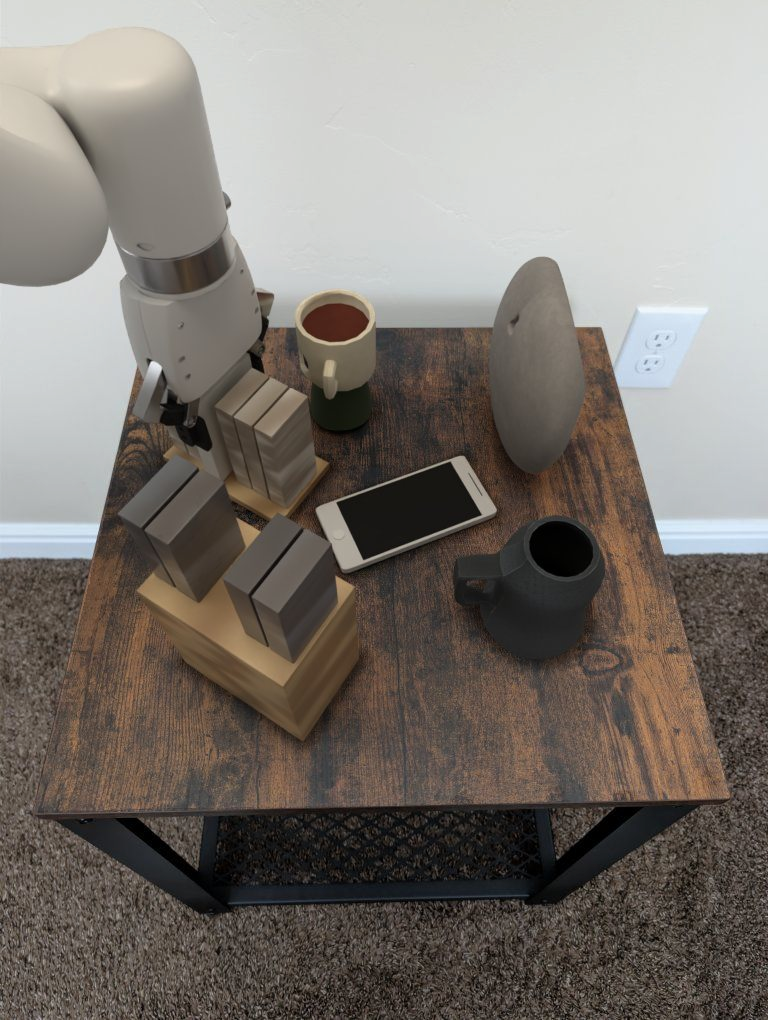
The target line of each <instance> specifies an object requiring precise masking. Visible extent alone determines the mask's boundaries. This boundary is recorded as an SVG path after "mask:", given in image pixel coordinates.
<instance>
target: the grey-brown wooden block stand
mask: <svg viewBox="0 0 768 1020" xmlns="http://www.w3.org/2000/svg"><path fill="white" fill-rule="evenodd" d="M161 403H162V400H161ZM177 403H180V404H181V402H180V399H179V396H178V398H177ZM214 407H215V411H216V414H217V417H218V420H219V424H220V427H221V430H222V434H223V437H224V440H225V443H226V447H227V450H228V453H229V457H230V460H231V463H232V466H233V471H232V472H231V473H230V474H229V475H228V476H227V477H226V479H225V480H224V481H223V482H225V485H226V488H227V491H228V494H229V497H230V500H231V501H232V502H234V503H236V504H238V505H239V506H241V507H242V508H245V509H246V510H248V511H250V512H251V513H253V514H255V515H257V516H258V517H260V518H262V519H263V520H265V521H267V522H268V523H269V522H270V520H271V519H272V518H273V517H274V516H275V514H276V513H277V512H278V513H280V514H282V515H283V516H285V517H287V518H288V519H290V517H292V515H293V514H294V513H295V511H296V510H297V509H298V508H299V506H300V505H301V504H303V502H304V500H305V499H306V498H307V497H308V495H309V494H311V492H312V491H313V490H314V488H316V486H317V484H318V483H319V482H320V481H321V480H322V478H323V477H324V476H325V475H326V474H327V472H328V471H329V470H330V462H328V461H326V460H324V459H322V458H321V457H319V456H317V455H316V452H315V441H314V435H313V427H312V419H311V412H310V402H309V396H308V395H306V394H304V393H302V392H300V391H298V390H296V389H294V388H292V387H290V388H289V385H287V384H285V383H283V382H281V381H279V380H277V379H275V378H273V377H270V376H269V375H267V374H266V373H265V374H263V373H261V372H259V371H257V370H255V369H253V368H251V369H250V370H249V371H248V372H247V373H246V374H245V375H244V376H243V377H242V378H241V380H240V381H239V382H238V383H237V384H236V385H235V386H234V387H233V388H232V389H231V390H230V391H229V392H228V393H227V394H226V395H225V396H224V397H223V398H222V399H221V400H220V401H219V402H218V403H217V404H216V405H215V406H214ZM165 427H166V429H167V433H168V435H169V436H170V437H169V438H170V439H171V442H172V446H171V447H170V448H169V449H168V450H167V451H166V452H165V453H164V454H163V456H162V457H163V459H164V461H165V463H167V462H168V461H169V460H170V459H171V458H172V457H173V456H174V455H175V454H176V455H178V456H180V457H182V458H183V459H185V460H187V461H189V462H190V463H192V464H194V465H196V466H197V467H198V468H199V471H200V470H201V469H203V470H204V471H206V470H205V467H204V465H203V462H202V459H201V456H200V454H199V451H198V448H197V446H196V445H194V446H193V447H191V446H189V445H187V444H185V443H184V442H183V441H182V440H181V439H180V438H179V436H178V433H177V431H176V428H175V426H165Z"/></svg>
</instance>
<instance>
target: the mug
mask: <svg viewBox="0 0 768 1020" xmlns="http://www.w3.org/2000/svg"><path fill="white" fill-rule="evenodd" d="M605 560H606V559H605V557H604V555H603V551H602V549H601V547H600V545H599V542H598V540H597V537H596V535H595V534H594V533H593V531H592V530H591V529H590V528H589V527H588V526H587V525H586V524H585V523H583V522H582V521H580V520H578V519H577V518H573V517H571V516H568V515H561V514H553V515H546V516H543V517H541V518H539V519H534V520H531V521H529V522H527V523H525V524H523V525H521V526H520V527H519V528H518V529H517V530H516V531H515V532H514V533H513V534H512V535H511V536H510V538H509V539H508V540H507V541H506V542H505V544H504V545H503V546H502V547H501V548H500V549H499V550H498V551H497V552H495V553H476V554H475V553H474V554H468V555H461V556H459V557H456V558H455V561H454V565H453V572H452V585H453V599H454V601H455V603H457V604H458V605H460V607H464V608H469V607H476V606H480V607H479V608H480V609H479V611H480V615H481V618H482V621H483V625H484V627H485V628H486V630H487V631H488V633H489V635H490V636H491V638H492V639H493V640H494V641H495V642H496V643H497V644H499V645H500V646H501V647H502V648H503V649H504V650H506V651H508V652H510V653H512V654H513V655H516V656H519V657H521V658H524V659H525V658H526V659H532V660H533V659H534V660H540V661H541V660H546V659H551V658H556V657H559V656H560V655H562V654H563V653H566V652H568V651H570V650H571V649H572V648H573V647H574V645H575V644H576V643H577V642H578V641H579V639H581V636H582V633H583V630H584V628H585V624H586V619H587V618H586V617H587V607H588V606H589V604H591V602H592V601H593V599H594V598H595V596H596V595H597V593H598V592H599V590H600V589H601V587H602V584H603V582H604V578H605V575H606V561H605ZM471 581H486V583H485V586H484V588H483V590H482V591H481V590H479V589H478V588H477V587H474V586H472V585H468V582H471Z"/></svg>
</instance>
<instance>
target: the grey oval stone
mask: <svg viewBox="0 0 768 1020" xmlns="http://www.w3.org/2000/svg"><path fill="white" fill-rule="evenodd" d="M568 296H569V295H568V293H567V289H566V286H565V282H564V278H563V275H562V272H561V269H560V266H559V264H558V262H557V261H556V260H554V259H553V258H551V257H548V256H536V257H533V258H530V259H528V260H527V261H526V262H524V263H523V264H522V265H520V267H519V268H518V269H517V271H516V272H515V274H514V275H513V276H512V278H511V280H510V281H509V283H508V285H507V287H506V288H505V291H504V293H503V294H502V297H501V300H500V303H499V305H498V308H497V311H496V314H495V318H494V321H493V326H492V331H491V338H490V346H489V357H488V380H489V381H488V383H489V384H488V385H489V394H490V402H491V404H490V405H491V411H492V415H493V419H494V424H495V427H496V430H497V433H498V436H499V439H500V442H501V443H502V446H503V448H504V451H505V452H506V454H507V456H508V457H509V458H510V459H511V461H512V463H514V464H515V466H517V467H518V469H520V470H521V471H523V472H525V473H527V474H530V475H539V474H542V473H544V472H545V471H548V469H550V468H551V467H553V465H554V464H555V463H557V462H558V460H559V459H560V457H561V456H562V455H563V453H564V452H565V450H566V448H567V447H568V445H569V443H570V440H571V438H572V437H573V433H574V431H575V429H576V425H577V423H578V419H579V417H580V413H581V410H582V407H583V405H584V401H585V398H586V393H587V386H586V377H585V371H584V365H583V364H584V363H583V359H582V355H581V350H580V343H579V339H578V335H577V330H576V326H575V321H574V316H573V313H572V308H571V304H570V301H569V300H570V299H569V297H568Z"/></svg>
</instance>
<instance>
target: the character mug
mask: <svg viewBox="0 0 768 1020" xmlns="http://www.w3.org/2000/svg"><path fill="white" fill-rule="evenodd" d="M375 313H376V311H375V308H374V306H373V305H372V304H371V303H370V301H369V300H368V298H366V297H365V296H363V295H361V294H359V293H358V292H356V291H352V290H347V289H343V288H333V289H332V288H331V289H324V290H321V291H319V292H318V291H317V292H315V293H312V294H311V295H309V296H308V297H306V298H305V299H303V300H302V301H301V302H300V303H299V305H298V306H297V307H296V310H295V312H294V327H295V334H296V341H297V348H298V357H299V366H300V370H301V372H302V373H303V375H304V376H305V378H306V379H307V380H308V381H310V382H311V387H310V401H309V411H310V415H311V417H312V419H313V421H314V422H315V423H316V424H317V425H318V426H320V427H321V428H322V429H324V430H331V431H337V432H339V431H349V430H353V429H355V428H359V427H360V426H362V425H364V424H365V423H366V421H368V419H369V418H370V417H371V416H372V409H373V401H372V395H371V390H370V389H371V388H370V385H369V384H370V383H369V380H370V379H371V378H372V376H373V374H374V372H375V369H376V367H377V366H376V365H377V322H376V314H375Z"/></svg>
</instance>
